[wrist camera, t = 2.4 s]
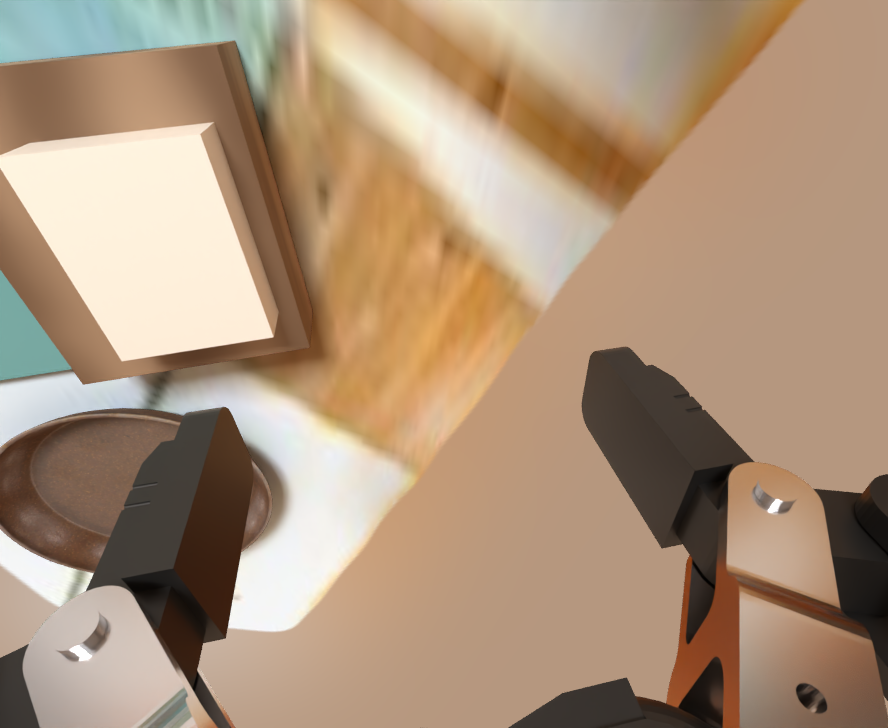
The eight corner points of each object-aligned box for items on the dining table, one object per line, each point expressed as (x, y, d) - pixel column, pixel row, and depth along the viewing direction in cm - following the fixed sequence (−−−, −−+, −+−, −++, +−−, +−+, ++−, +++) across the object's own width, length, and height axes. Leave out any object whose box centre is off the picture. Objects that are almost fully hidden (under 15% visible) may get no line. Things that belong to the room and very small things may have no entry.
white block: (214, 122, 19) (200, 134, 17) (278, 312, 24) (273, 337, 22) (30, 143, 18) (-7, 157, 16) (139, 333, 24) (121, 361, 22)
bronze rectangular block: (235, 40, 21) (216, 45, 17) (312, 311, 29) (309, 347, 26) (-60, 69, 19) (-137, 79, 16) (111, 342, 28) (83, 384, 25)
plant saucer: (191, 350, 29) (179, 380, 27) (313, 504, 40) (311, 535, 38) (-65, 437, 30) (-100, 474, 28) (124, 566, 41) (111, 601, 38)
